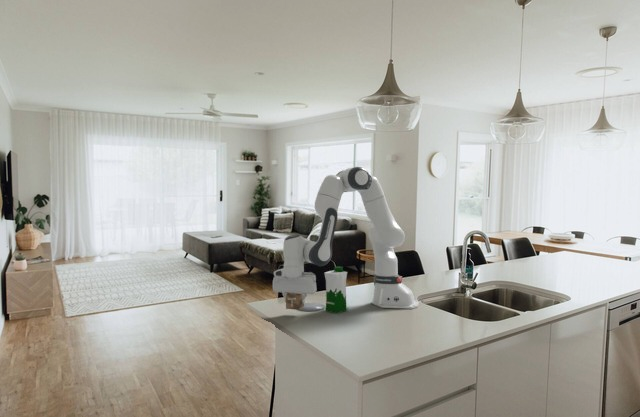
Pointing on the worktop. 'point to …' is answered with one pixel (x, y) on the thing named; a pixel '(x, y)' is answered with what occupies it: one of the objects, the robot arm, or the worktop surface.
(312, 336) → the worktop surface
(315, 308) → the coaster
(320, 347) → the worktop surface
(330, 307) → the soya milk
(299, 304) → the letter cube
